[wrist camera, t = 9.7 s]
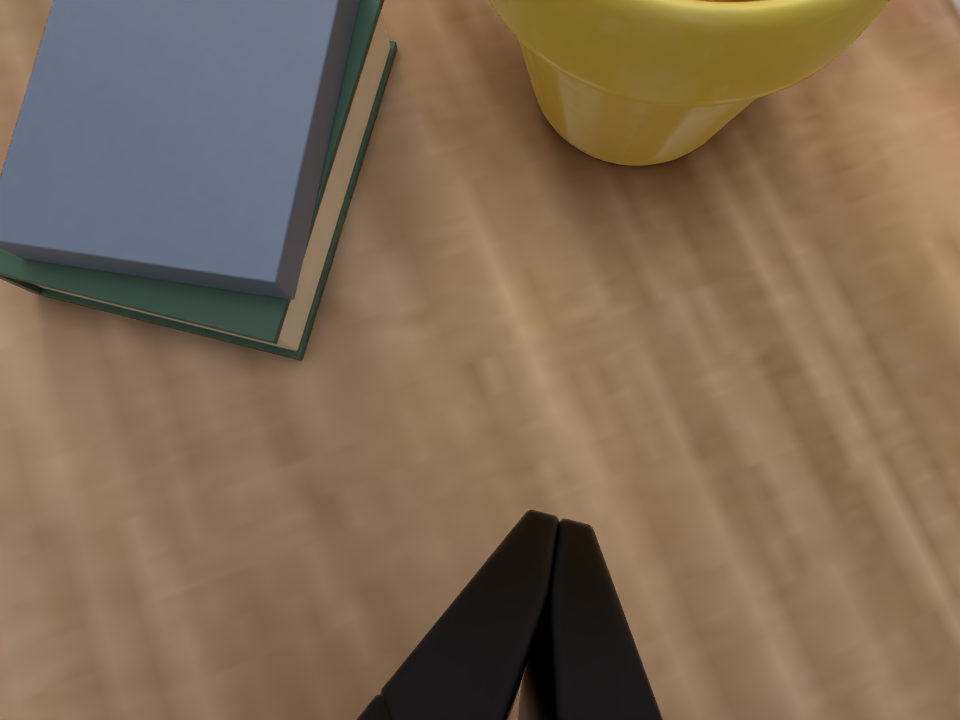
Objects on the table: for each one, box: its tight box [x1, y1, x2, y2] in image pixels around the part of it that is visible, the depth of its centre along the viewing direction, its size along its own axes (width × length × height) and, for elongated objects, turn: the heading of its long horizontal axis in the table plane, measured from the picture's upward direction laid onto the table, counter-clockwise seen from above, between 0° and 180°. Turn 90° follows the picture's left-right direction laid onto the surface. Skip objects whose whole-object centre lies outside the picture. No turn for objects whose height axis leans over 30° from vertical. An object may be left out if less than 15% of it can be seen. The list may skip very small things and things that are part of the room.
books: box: [0, 0, 397, 360], centre depth 22 cm, size 11×9×4 cm
